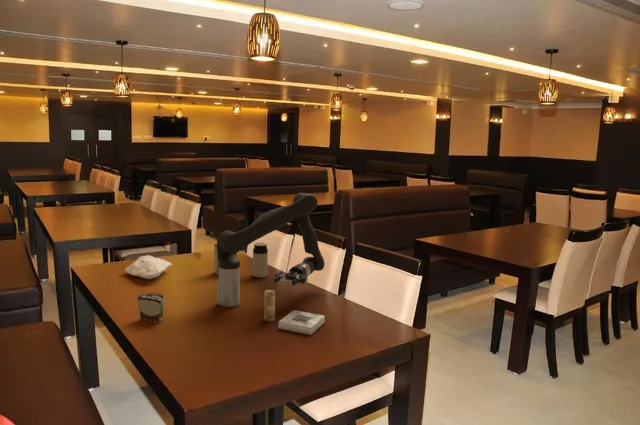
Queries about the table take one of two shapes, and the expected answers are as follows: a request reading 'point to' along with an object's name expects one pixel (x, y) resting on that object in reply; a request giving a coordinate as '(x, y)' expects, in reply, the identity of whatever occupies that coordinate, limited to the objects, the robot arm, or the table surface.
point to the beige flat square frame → (301, 322)
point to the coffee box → (216, 260)
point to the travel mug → (260, 259)
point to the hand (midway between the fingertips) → (284, 281)
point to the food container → (151, 306)
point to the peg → (269, 305)
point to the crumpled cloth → (148, 267)
